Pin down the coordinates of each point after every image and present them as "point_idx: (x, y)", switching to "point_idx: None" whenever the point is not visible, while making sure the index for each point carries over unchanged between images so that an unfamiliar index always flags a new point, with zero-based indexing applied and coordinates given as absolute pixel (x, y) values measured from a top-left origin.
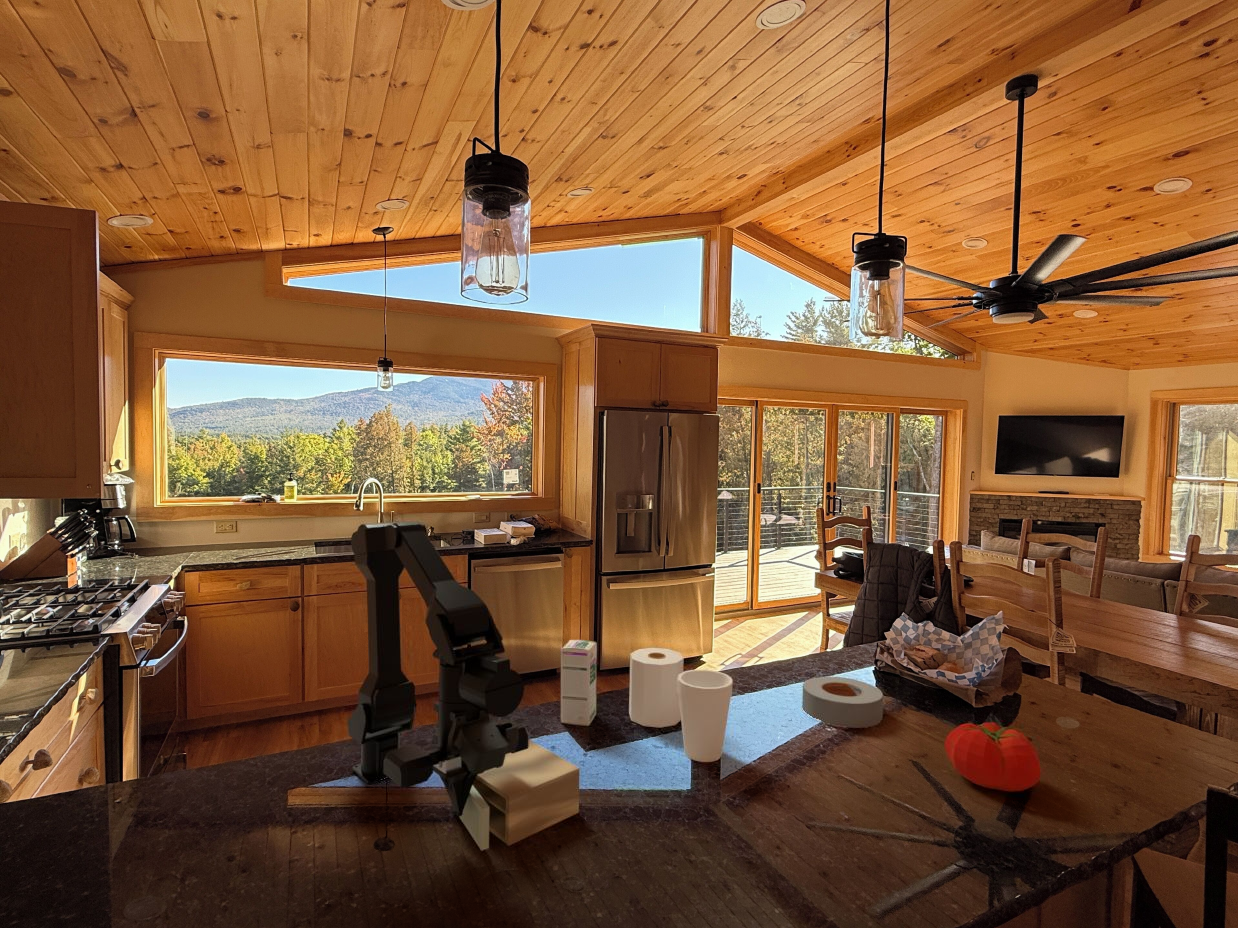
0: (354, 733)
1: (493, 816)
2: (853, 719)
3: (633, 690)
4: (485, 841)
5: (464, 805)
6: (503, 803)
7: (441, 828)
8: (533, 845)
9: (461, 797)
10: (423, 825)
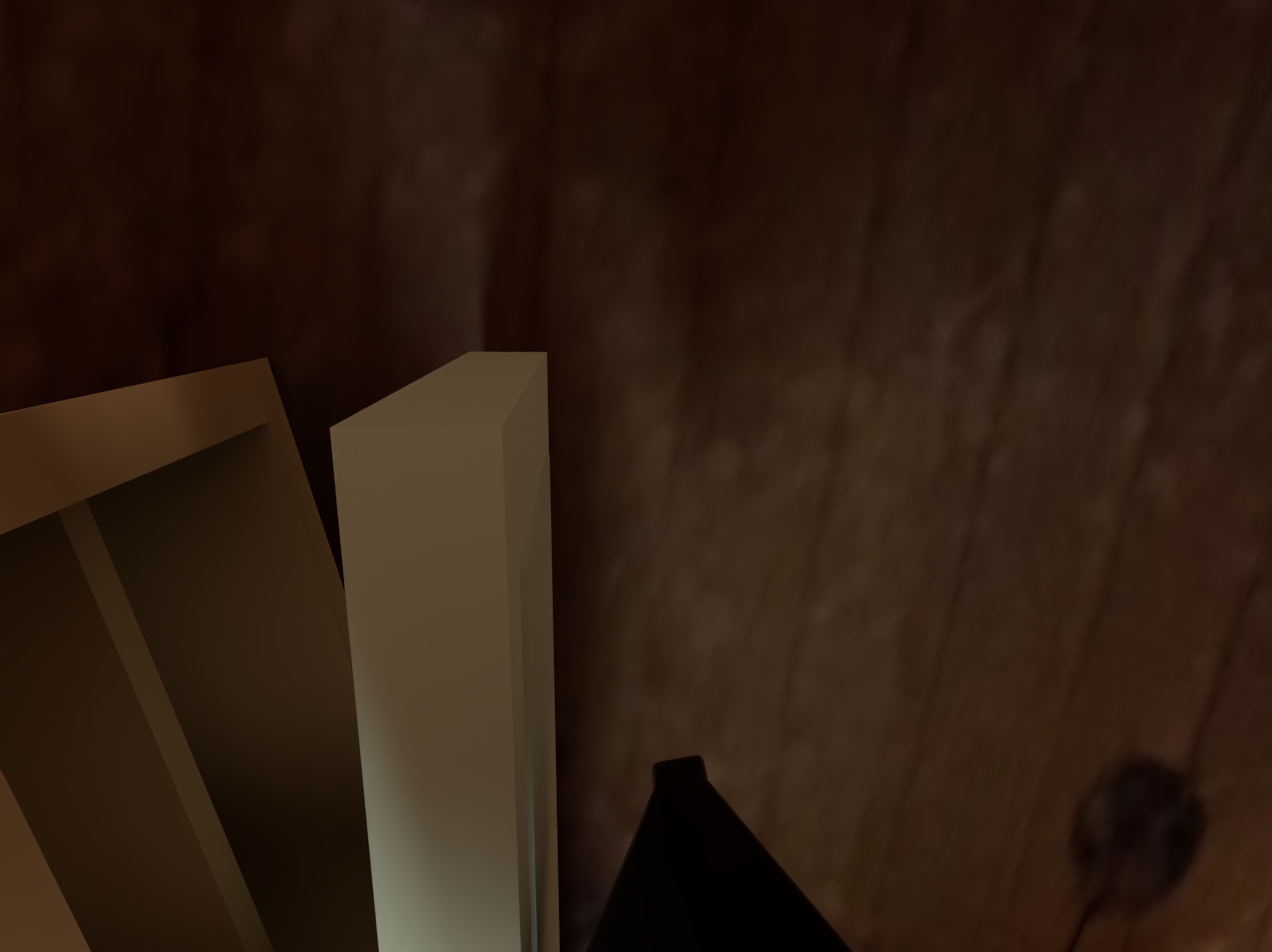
0: None
1: (274, 800)
2: None
3: None
4: (495, 359)
5: (642, 835)
6: (86, 784)
7: None
8: (24, 237)
9: (733, 933)
10: None
